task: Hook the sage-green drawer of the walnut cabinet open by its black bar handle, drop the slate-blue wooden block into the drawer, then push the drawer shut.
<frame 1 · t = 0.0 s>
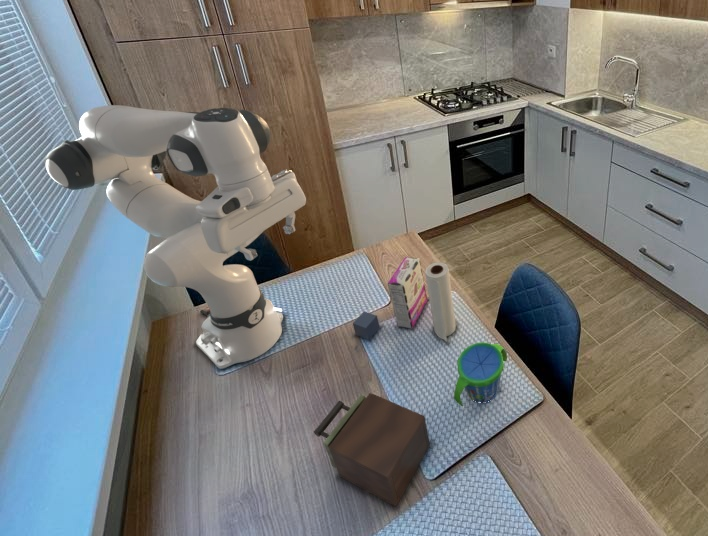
hand: (272, 244, 87), 39 cm above the table, tool pointing down, fingers open, 8 cm apart
cabinet: (386, 460, 83), on the table
snack cup: (483, 390, 96), on the table
candy bar box: (412, 313, 119), on the table
paper towel roll: (444, 330, 113), on the table
block: (367, 331, 113), on the table
drawer: (360, 435, 83), point 5 cm above the table, slide at 1.0 cm
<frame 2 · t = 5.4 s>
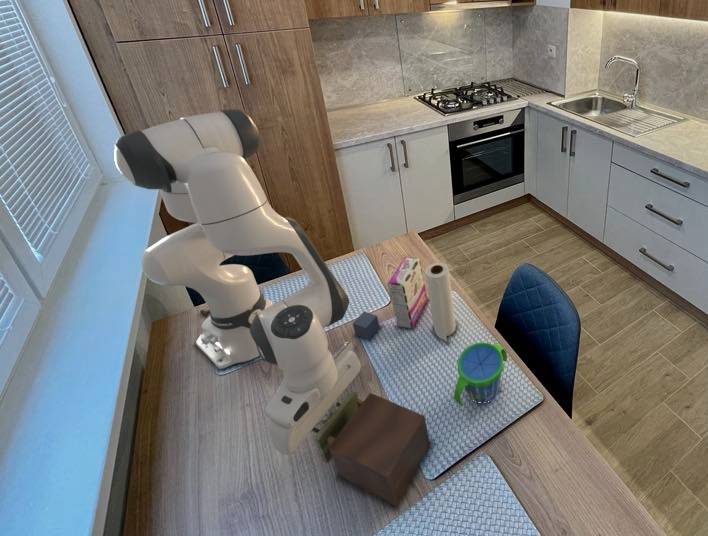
hand: (328, 420, 87), 5 cm above the table, tool pointing down, fingers closed
drawer: (351, 430, 84), point 5 cm above the table, slide at 3.5 cm, touching gripper
everything else where it was.
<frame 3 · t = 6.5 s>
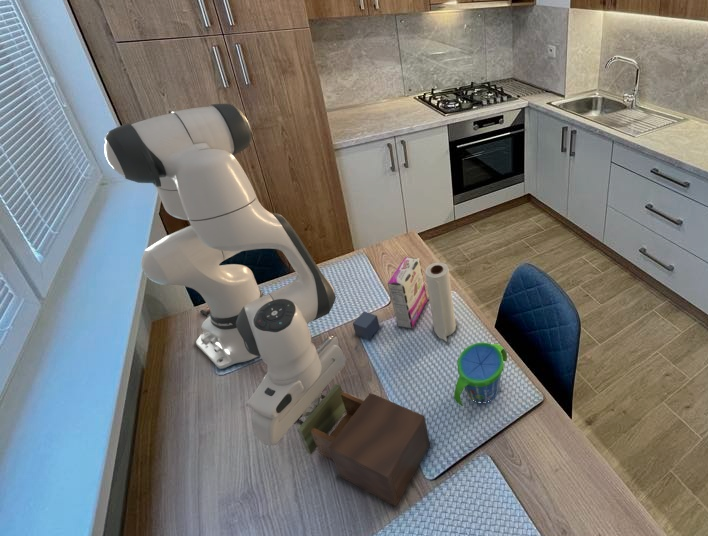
hand: (312, 412, 88), 5 cm above the table, tool pointing down, fingers closed
drawer: (335, 423, 86), point 5 cm above the table, slide at 7.9 cm
everything else where it was.
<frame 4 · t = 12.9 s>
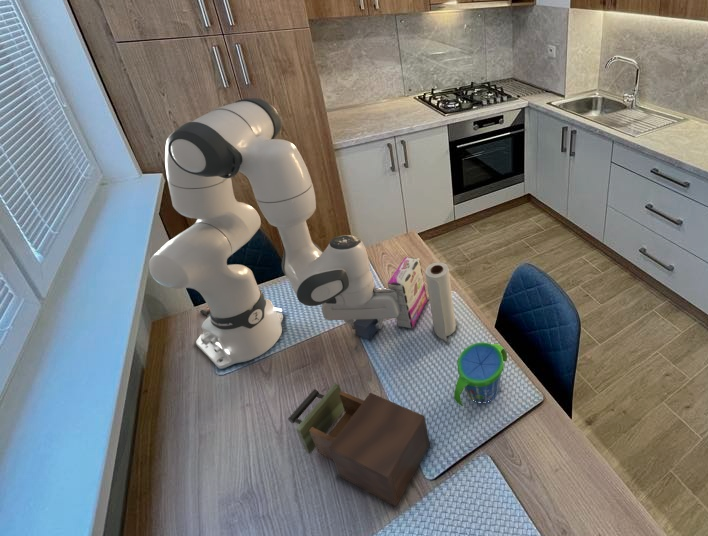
hand: (366, 327, 112), 2 cm above the table, tool pointing down, fingers closed on block, 5 cm apart
block: (368, 331, 113), on the table, touching gripper
drawer: (333, 422, 86), point 5 cm above the table, slide at 8.3 cm
everything else where it was.
when the fingers open (11 cm above the table, at t = 19.8 s): block drops 8 cm, resting on drawer.
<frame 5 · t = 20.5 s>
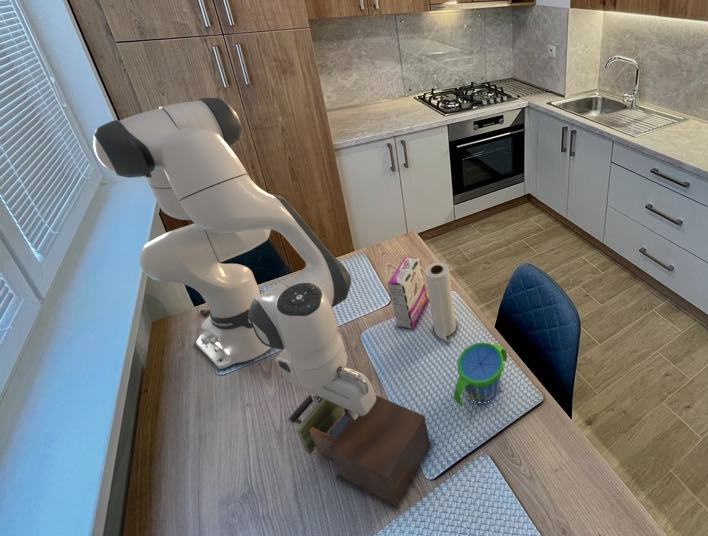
hand: (336, 407, 82), 12 cm above the table, tool pointing down, fingers open, 8 cm apart
block: (349, 442, 85), point 2 cm above the table, touching drawer
drawer: (333, 422, 86), point 5 cm above the table, slide at 8.3 cm, touching block
everything else where it was.
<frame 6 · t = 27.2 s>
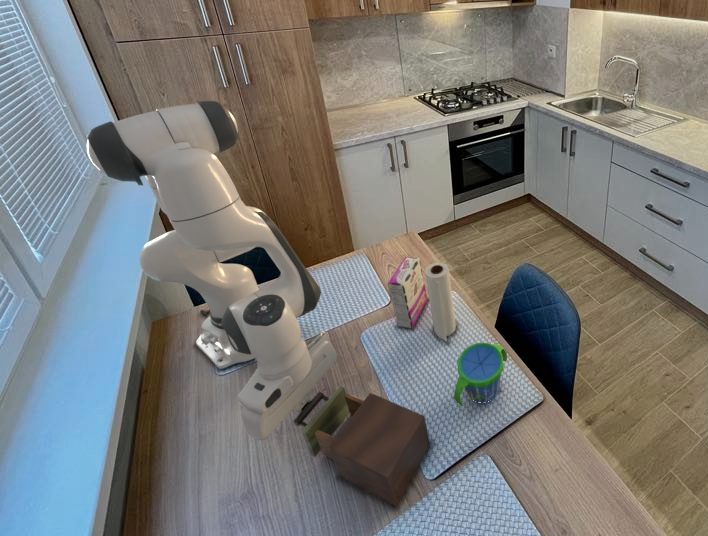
hand: (303, 408, 88), 5 cm above the table, tool pointing down, fingers closed
block: (355, 444, 84), point 2 cm above the table, touching drawer
drawer: (339, 425, 85), point 5 cm above the table, slide at 6.8 cm, touching block
everything else where it was.
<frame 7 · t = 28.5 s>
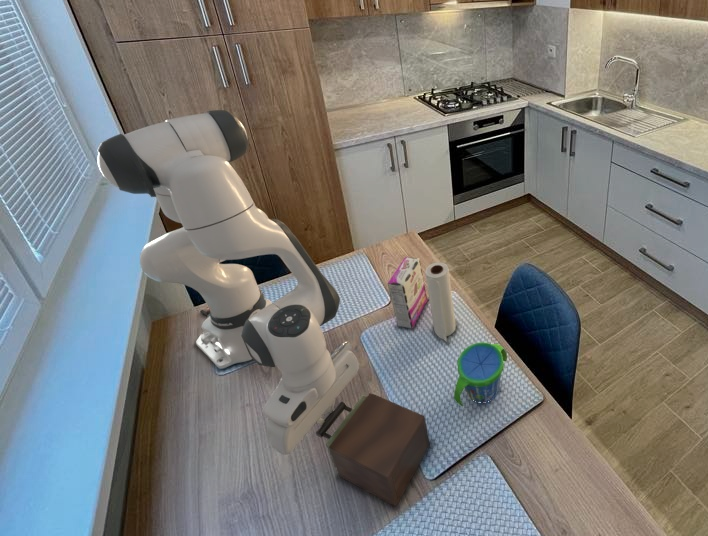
hand: (326, 420, 86), 5 cm above the table, tool pointing down, fingers closed, pressing on drawer
block: (379, 457, 82), point 2 cm above the table, touching drawer
drawer: (363, 436, 83), point 5 cm above the table, slide at 0.4 cm, touching block, gripper
everything else where it was.
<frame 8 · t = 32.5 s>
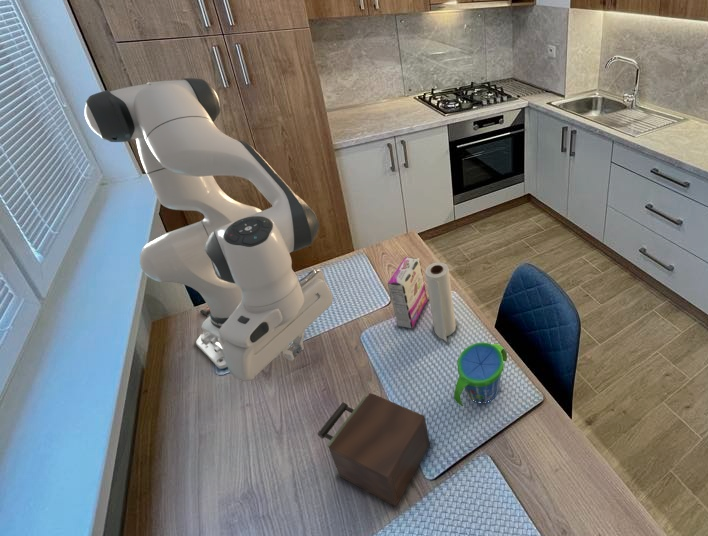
hand: (295, 353, 79), 24 cm above the table, tool pointing down, fingers closed
drawer: (364, 437, 83), point 5 cm above the table, slide at 0.0 cm, touching block, cabinet
everything else where it was.
at the end: drawer pulled out 8.3 cm at the most during the clip, back to where it started at the end; block inside the target area in the cabinet (0.8 cm from its centre), point 2.1 cm above the cabinet's base; drawer slide at 0.0 cm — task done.
